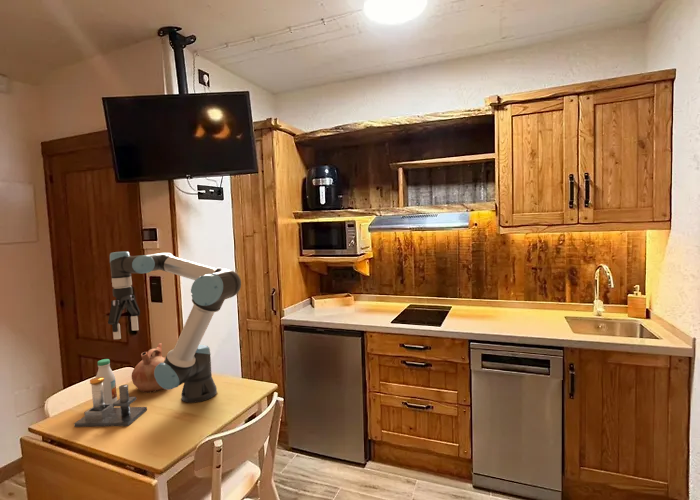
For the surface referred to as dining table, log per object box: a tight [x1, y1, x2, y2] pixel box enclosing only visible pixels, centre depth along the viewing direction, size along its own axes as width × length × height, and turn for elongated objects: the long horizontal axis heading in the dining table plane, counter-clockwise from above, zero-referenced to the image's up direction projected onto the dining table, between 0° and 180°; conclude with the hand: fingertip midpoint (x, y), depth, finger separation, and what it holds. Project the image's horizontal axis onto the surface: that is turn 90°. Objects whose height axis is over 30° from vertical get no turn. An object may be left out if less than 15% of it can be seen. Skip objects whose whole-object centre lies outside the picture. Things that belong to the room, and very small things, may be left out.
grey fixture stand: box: [73, 384, 148, 428], centre depth 159 cm, size 22×13×14 cm, turn 87°
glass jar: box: [89, 376, 105, 411], centre depth 159 cm, size 5×5×15 cm
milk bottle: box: [95, 358, 118, 404], centre depth 173 cm, size 8×8×20 cm
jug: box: [131, 342, 166, 394], centre depth 189 cm, size 18×18×20 cm
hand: (126, 334), depth 171 cm, fingers open, 13 cm apart
